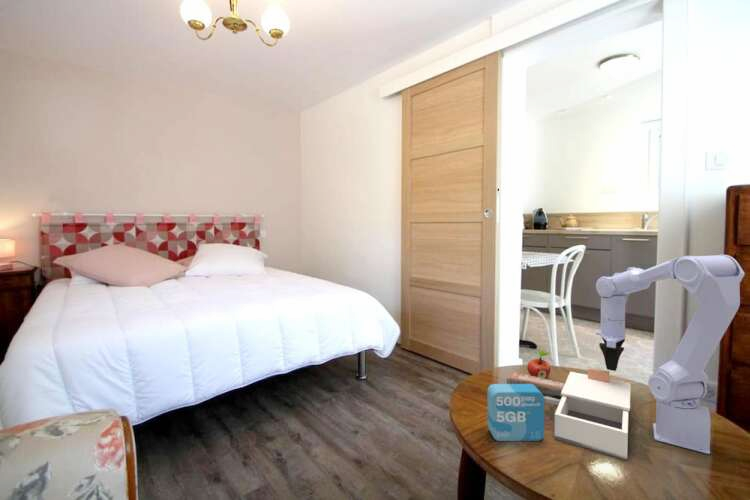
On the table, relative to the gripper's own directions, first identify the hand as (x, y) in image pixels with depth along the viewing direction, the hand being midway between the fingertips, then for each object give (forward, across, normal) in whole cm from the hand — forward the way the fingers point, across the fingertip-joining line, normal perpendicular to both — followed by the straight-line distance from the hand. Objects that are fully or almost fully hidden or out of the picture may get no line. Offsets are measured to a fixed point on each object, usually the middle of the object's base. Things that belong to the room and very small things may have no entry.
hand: (612, 365), depth 100 cm
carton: (+10, +21, -3) cm, 24 cm away
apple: (+11, -3, -20) cm, 23 cm away
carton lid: (+4, +10, -3) cm, 11 cm away
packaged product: (+11, +6, -18) cm, 22 cm away
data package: (+11, +33, -18) cm, 39 cm away
